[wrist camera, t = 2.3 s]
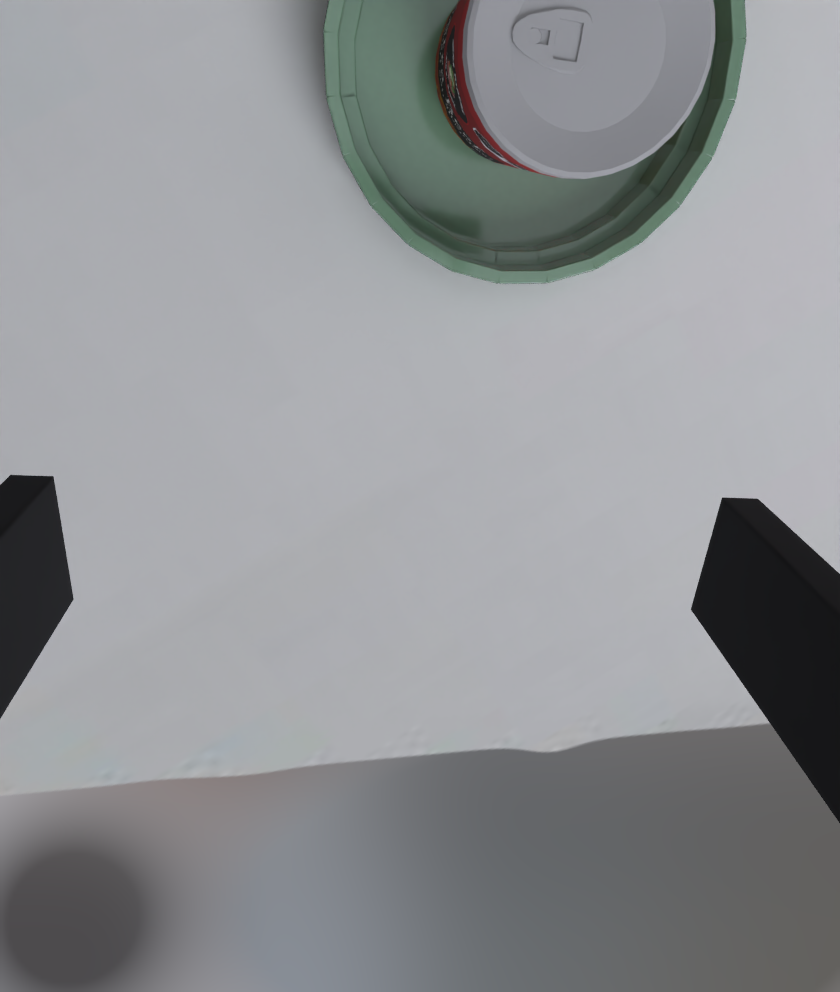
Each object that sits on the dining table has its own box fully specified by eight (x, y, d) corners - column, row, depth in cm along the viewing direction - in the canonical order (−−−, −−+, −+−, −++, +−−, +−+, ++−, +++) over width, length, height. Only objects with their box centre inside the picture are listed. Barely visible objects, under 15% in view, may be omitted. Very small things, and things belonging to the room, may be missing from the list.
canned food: (420, -16, 31) (449, -86, 21) (608, -47, 31) (724, -131, 21) (444, 179, 34) (478, 198, 24) (613, 152, 34) (715, 160, 24)
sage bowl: (293, 218, 35) (286, 226, 32) (380, -249, 28) (383, -296, 25) (623, 309, 38) (646, 324, 35) (777, -91, 31) (822, -115, 28)
